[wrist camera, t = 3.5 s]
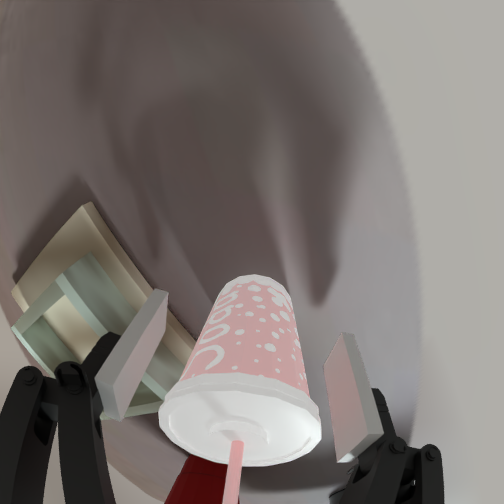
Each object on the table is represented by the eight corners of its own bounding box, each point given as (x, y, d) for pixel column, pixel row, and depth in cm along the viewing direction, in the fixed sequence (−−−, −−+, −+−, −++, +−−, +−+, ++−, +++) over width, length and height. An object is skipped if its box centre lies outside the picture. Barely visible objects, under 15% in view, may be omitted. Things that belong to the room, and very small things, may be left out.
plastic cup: (166, 462, 28) (146, 531, 17) (172, 432, 24) (144, 525, 13) (242, 480, 29) (234, 549, 18) (268, 454, 25) (262, 546, 13)
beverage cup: (285, 247, 15) (302, 558, 2) (315, 330, 17) (342, 555, 4) (187, 280, 16) (75, 511, 3) (229, 353, 18) (190, 553, 5)
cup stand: (232, 380, 19) (224, 422, 16) (122, 407, 23) (109, 436, 19) (91, 201, 15) (49, 220, 11) (17, 287, 18) (-10, 309, 15)
